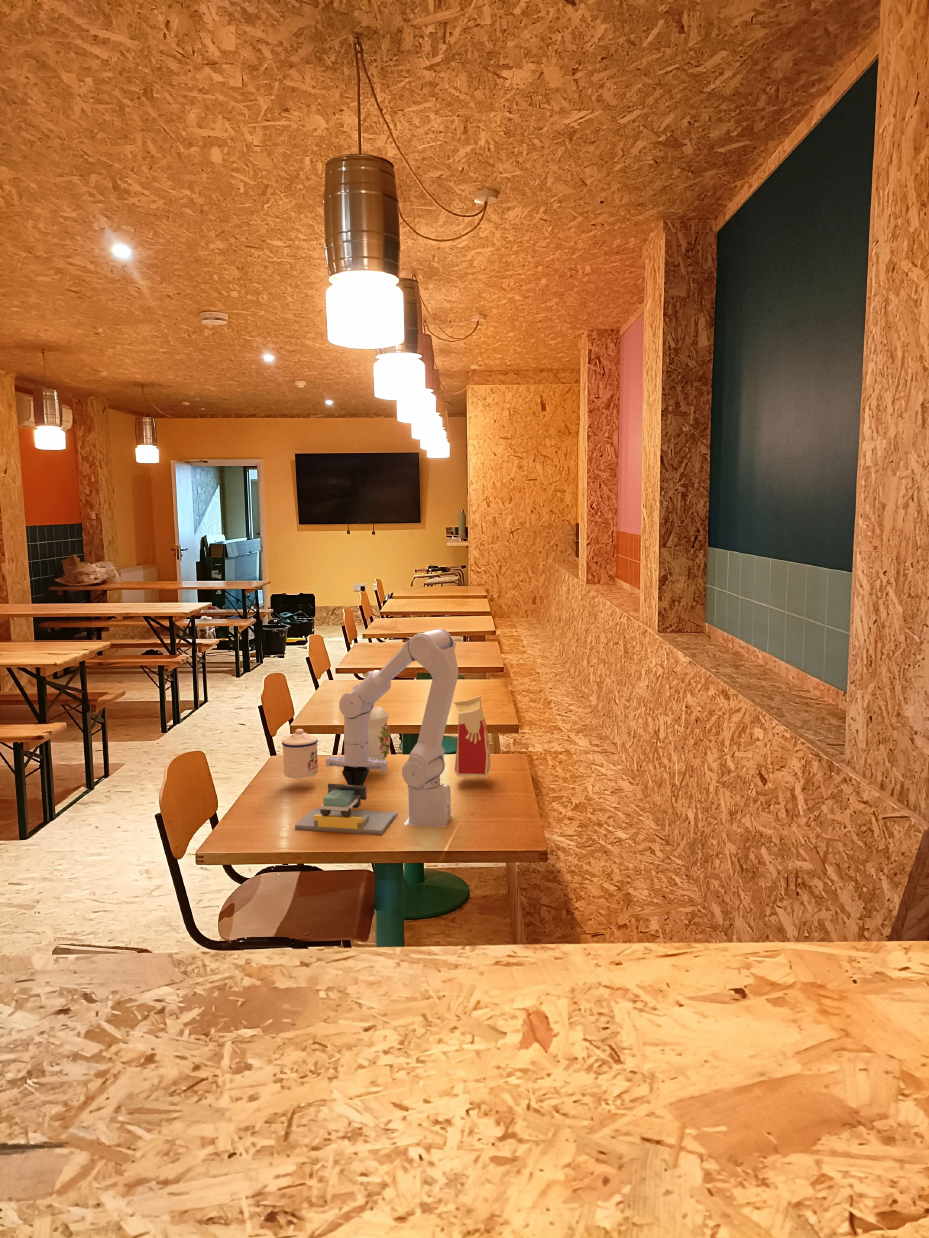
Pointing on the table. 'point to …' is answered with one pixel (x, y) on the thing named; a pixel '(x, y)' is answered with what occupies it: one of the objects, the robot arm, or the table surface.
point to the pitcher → (378, 734)
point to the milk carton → (472, 740)
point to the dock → (347, 822)
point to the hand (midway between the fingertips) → (356, 797)
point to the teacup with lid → (300, 755)
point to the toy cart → (343, 798)
